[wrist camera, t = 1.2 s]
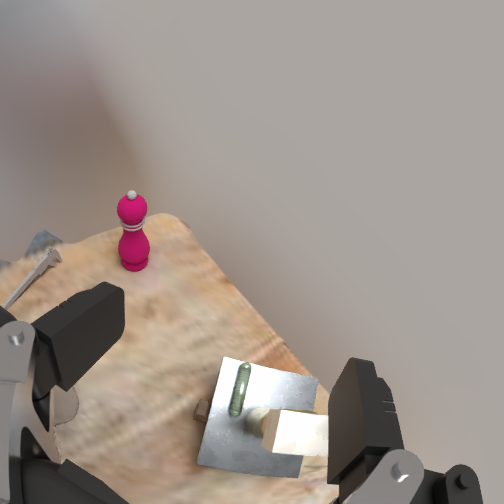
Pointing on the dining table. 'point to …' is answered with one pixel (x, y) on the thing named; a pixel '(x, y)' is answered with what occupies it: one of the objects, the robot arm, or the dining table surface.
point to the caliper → (33, 275)
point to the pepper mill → (133, 232)
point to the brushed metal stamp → (262, 421)
